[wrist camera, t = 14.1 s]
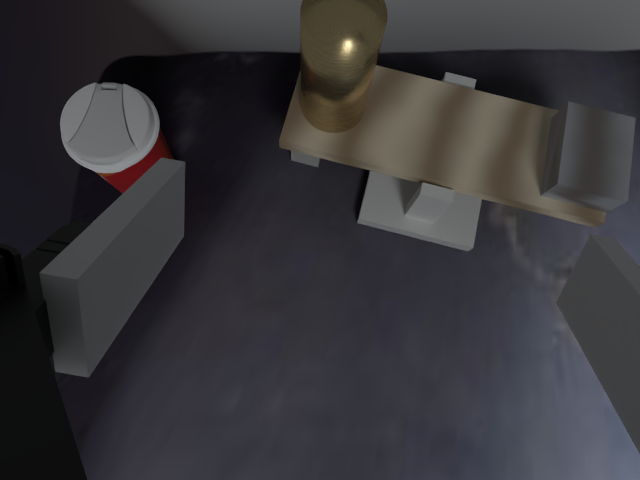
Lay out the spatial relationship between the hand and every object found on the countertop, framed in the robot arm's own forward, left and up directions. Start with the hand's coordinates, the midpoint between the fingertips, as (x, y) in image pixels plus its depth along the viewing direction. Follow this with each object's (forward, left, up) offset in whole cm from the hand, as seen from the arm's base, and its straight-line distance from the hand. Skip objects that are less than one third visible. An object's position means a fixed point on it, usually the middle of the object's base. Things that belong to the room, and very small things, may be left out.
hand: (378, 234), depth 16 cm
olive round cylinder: (+15, -12, -25) cm, 32 cm away
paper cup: (+22, +6, -34) cm, 41 cm away
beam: (+7, -19, -28) cm, 34 cm away
